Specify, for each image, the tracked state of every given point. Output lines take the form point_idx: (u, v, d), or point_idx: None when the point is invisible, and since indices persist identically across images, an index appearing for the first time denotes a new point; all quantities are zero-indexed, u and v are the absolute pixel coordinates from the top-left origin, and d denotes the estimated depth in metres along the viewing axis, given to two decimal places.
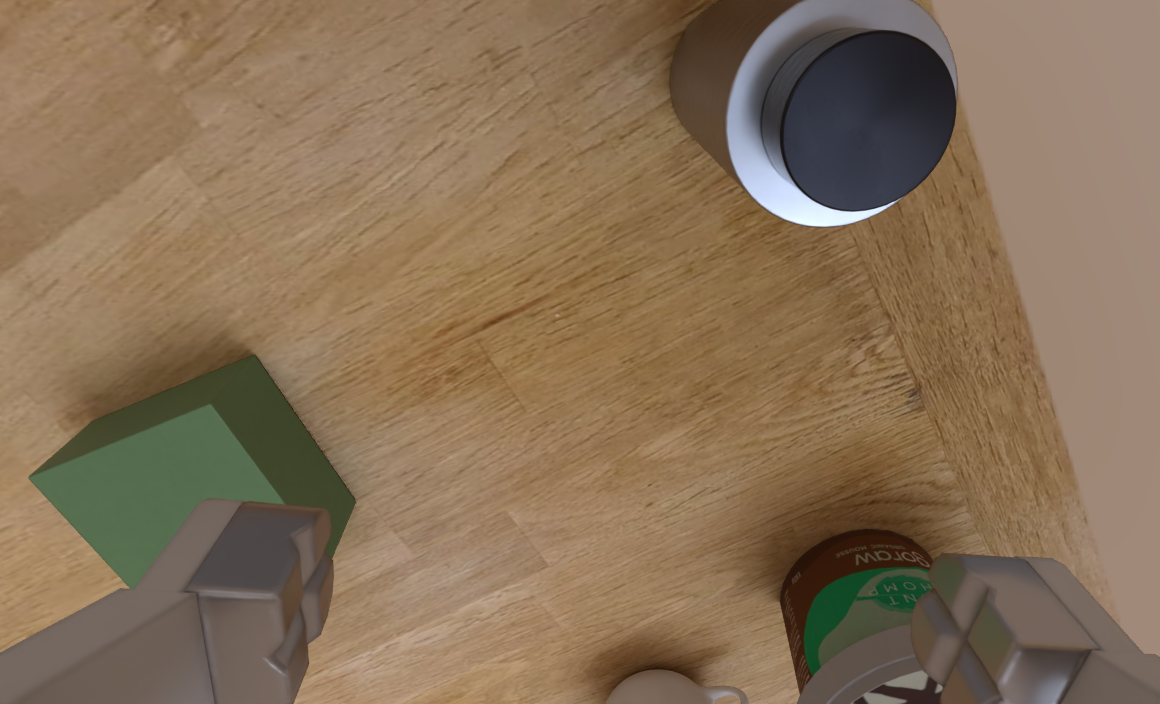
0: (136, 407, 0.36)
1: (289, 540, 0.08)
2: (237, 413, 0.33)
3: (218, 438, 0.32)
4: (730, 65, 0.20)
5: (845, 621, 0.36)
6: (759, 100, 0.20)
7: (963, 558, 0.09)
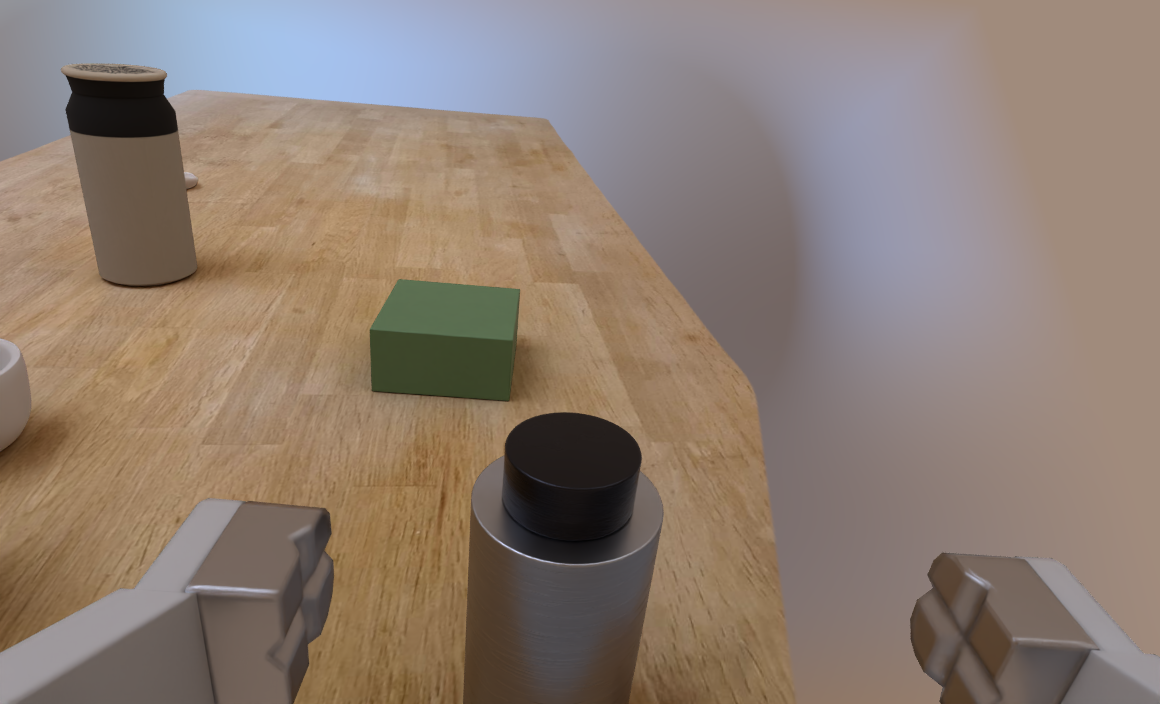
0: None
1: (289, 540, 0.08)
2: (494, 352, 0.51)
3: (490, 334, 0.51)
4: None
5: None
6: None
7: (963, 558, 0.09)
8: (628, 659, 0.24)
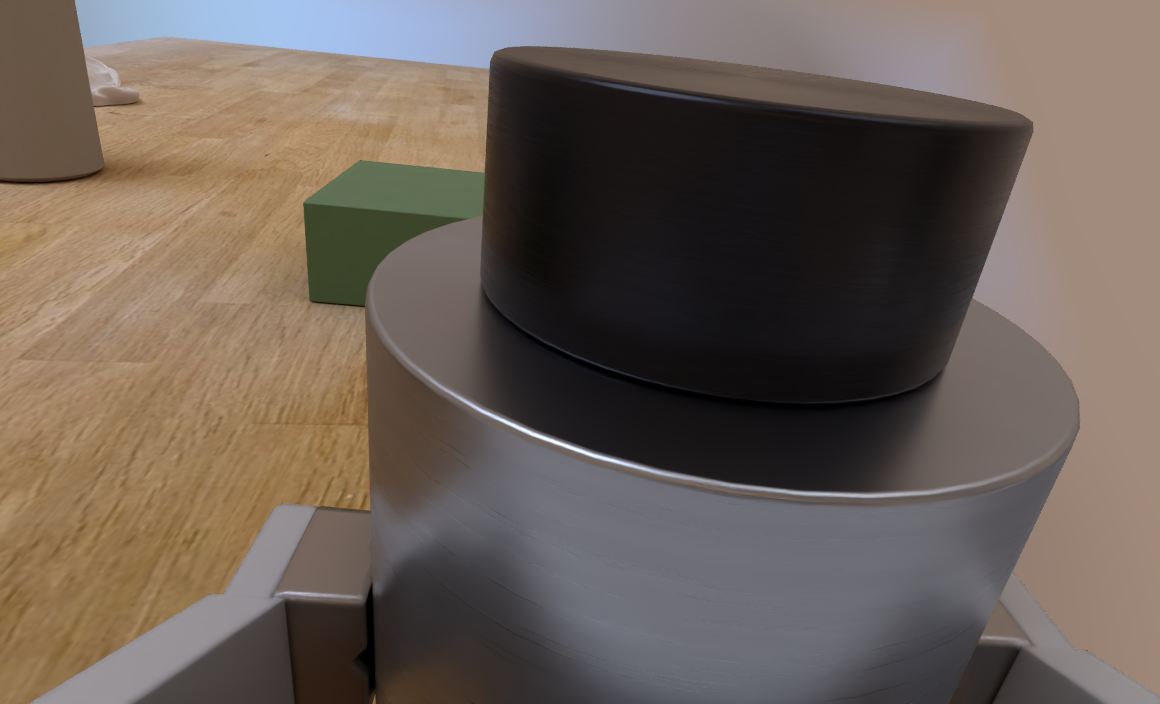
0: None
1: (367, 545, 0.08)
2: None
3: None
4: None
5: None
6: None
7: None
8: None
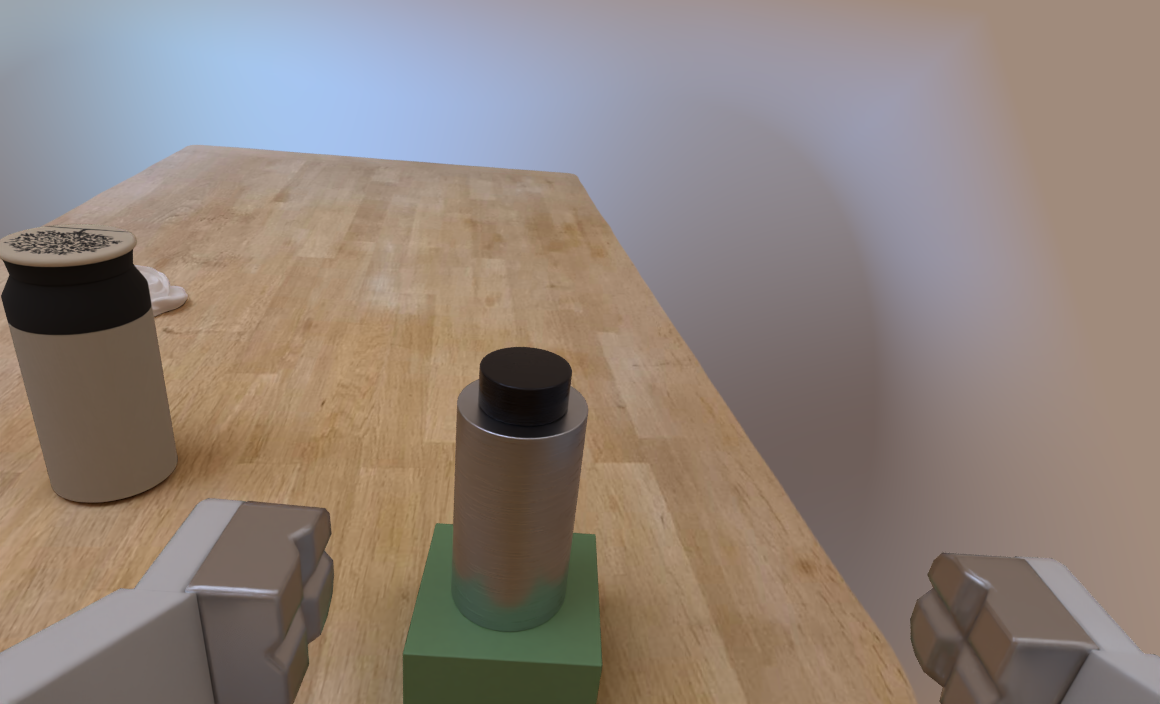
0: None
1: (289, 540, 0.08)
2: (575, 679, 0.36)
3: (569, 652, 0.37)
4: None
5: None
6: None
7: (963, 558, 0.09)
8: (564, 516, 0.36)
